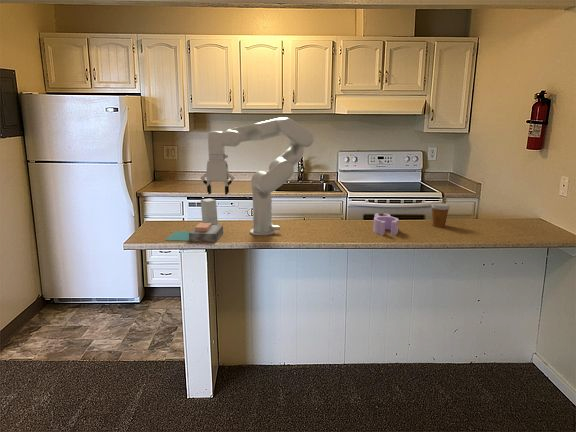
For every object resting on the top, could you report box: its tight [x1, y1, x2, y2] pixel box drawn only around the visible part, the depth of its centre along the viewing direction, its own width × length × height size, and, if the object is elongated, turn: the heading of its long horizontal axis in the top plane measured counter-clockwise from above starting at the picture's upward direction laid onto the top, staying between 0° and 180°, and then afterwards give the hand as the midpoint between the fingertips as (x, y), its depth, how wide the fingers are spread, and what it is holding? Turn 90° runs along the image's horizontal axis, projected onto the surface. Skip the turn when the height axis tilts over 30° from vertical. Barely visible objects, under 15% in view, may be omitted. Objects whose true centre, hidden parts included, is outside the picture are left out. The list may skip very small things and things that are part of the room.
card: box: [194, 222, 212, 232], centre depth 222 cm, size 6×9×2 cm, turn 176°
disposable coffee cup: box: [430, 202, 450, 228], centre depth 243 cm, size 10×10×12 cm
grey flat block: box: [188, 224, 224, 243], centre depth 222 cm, size 13×16×4 cm
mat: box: [165, 230, 191, 242], centre depth 224 cm, size 11×16×1 cm
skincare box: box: [200, 198, 219, 225], centre depth 241 cm, size 8×6×15 cm
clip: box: [372, 212, 400, 236], centre depth 235 cm, size 20×12×7 cm, turn 1°
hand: (218, 193), depth 217 cm, fingers open, 7 cm apart
